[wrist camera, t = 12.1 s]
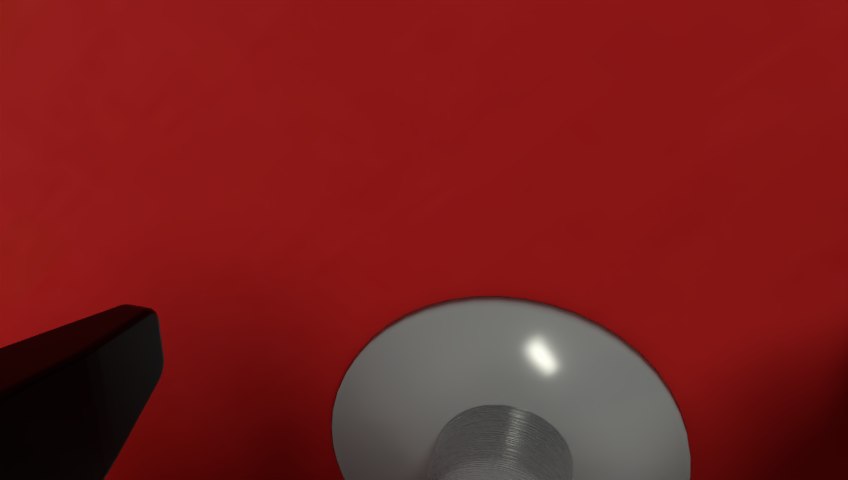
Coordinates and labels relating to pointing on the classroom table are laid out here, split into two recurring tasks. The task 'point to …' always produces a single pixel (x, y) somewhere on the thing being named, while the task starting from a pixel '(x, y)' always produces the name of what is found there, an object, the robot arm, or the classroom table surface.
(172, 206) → the classroom table surface
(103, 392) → the robot arm
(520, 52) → the classroom table surface
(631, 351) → the saucer
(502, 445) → the shiny steel cylinder
